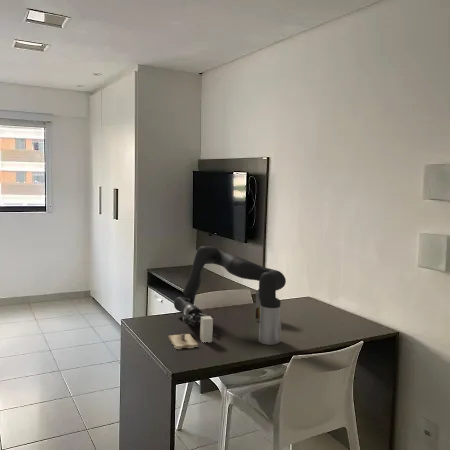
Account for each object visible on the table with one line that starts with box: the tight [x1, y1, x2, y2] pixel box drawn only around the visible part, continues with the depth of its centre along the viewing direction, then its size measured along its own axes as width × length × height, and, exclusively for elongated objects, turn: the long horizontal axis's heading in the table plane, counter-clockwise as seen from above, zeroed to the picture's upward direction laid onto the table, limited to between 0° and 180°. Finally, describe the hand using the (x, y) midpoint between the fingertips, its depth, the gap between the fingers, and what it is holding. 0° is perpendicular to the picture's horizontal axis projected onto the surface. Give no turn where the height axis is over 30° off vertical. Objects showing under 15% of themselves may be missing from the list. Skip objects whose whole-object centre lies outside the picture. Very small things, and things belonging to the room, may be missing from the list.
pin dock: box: [167, 333, 199, 350], centre depth 214 cm, size 10×14×4 cm
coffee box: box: [254, 288, 260, 322], centre depth 251 cm, size 9×6×16 cm
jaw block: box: [199, 316, 214, 344], centre depth 217 cm, size 4×4×11 cm
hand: (202, 322), depth 223 cm, fingers open, 8 cm apart
